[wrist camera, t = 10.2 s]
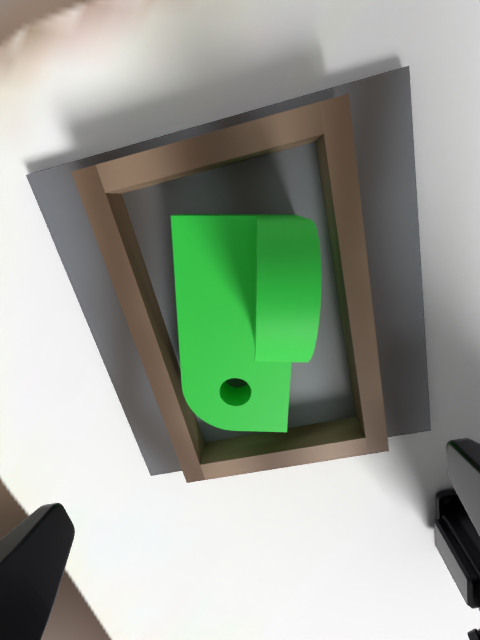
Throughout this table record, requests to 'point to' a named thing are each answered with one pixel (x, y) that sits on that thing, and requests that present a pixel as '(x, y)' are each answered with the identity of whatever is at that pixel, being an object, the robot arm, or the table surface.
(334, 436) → the seat
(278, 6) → the table surface
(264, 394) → the mechanical part
